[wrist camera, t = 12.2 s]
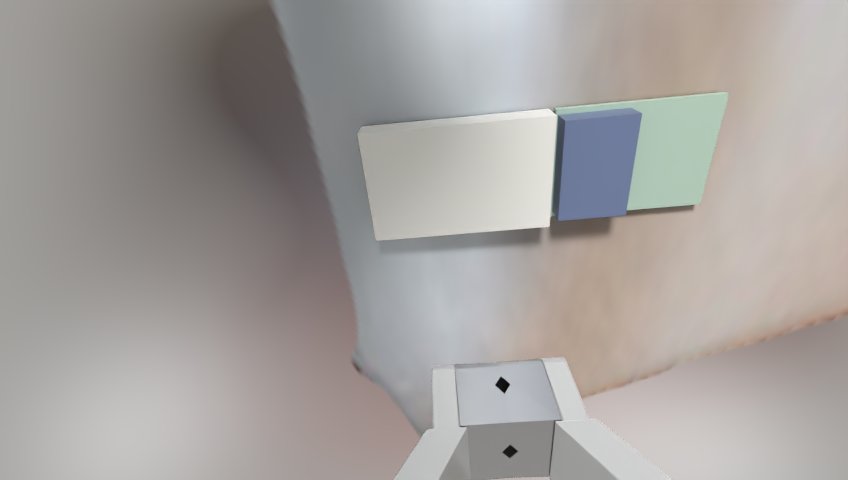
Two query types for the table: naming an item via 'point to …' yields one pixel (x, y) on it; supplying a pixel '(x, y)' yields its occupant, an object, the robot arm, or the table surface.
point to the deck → (459, 174)
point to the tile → (594, 163)
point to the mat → (668, 147)
